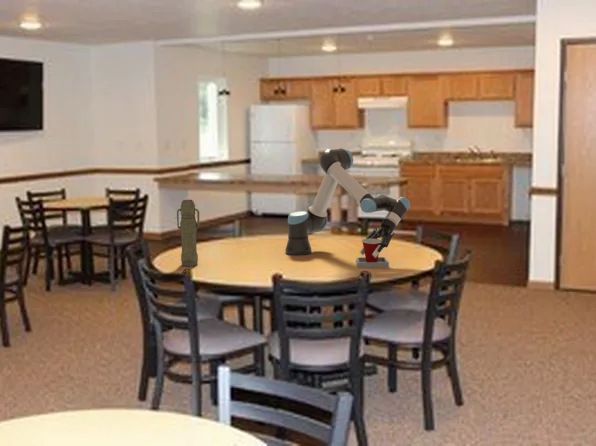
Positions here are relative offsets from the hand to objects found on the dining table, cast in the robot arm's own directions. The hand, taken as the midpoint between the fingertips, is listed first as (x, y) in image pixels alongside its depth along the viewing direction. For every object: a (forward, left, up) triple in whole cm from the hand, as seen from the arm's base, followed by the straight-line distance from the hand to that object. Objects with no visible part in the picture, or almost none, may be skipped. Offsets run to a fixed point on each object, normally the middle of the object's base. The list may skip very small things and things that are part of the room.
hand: (367, 254), depth 419 cm
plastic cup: (+3, +2, -5) cm, 6 cm away
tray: (+3, +2, -6) cm, 7 cm away
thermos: (-94, +8, -6) cm, 95 cm away
